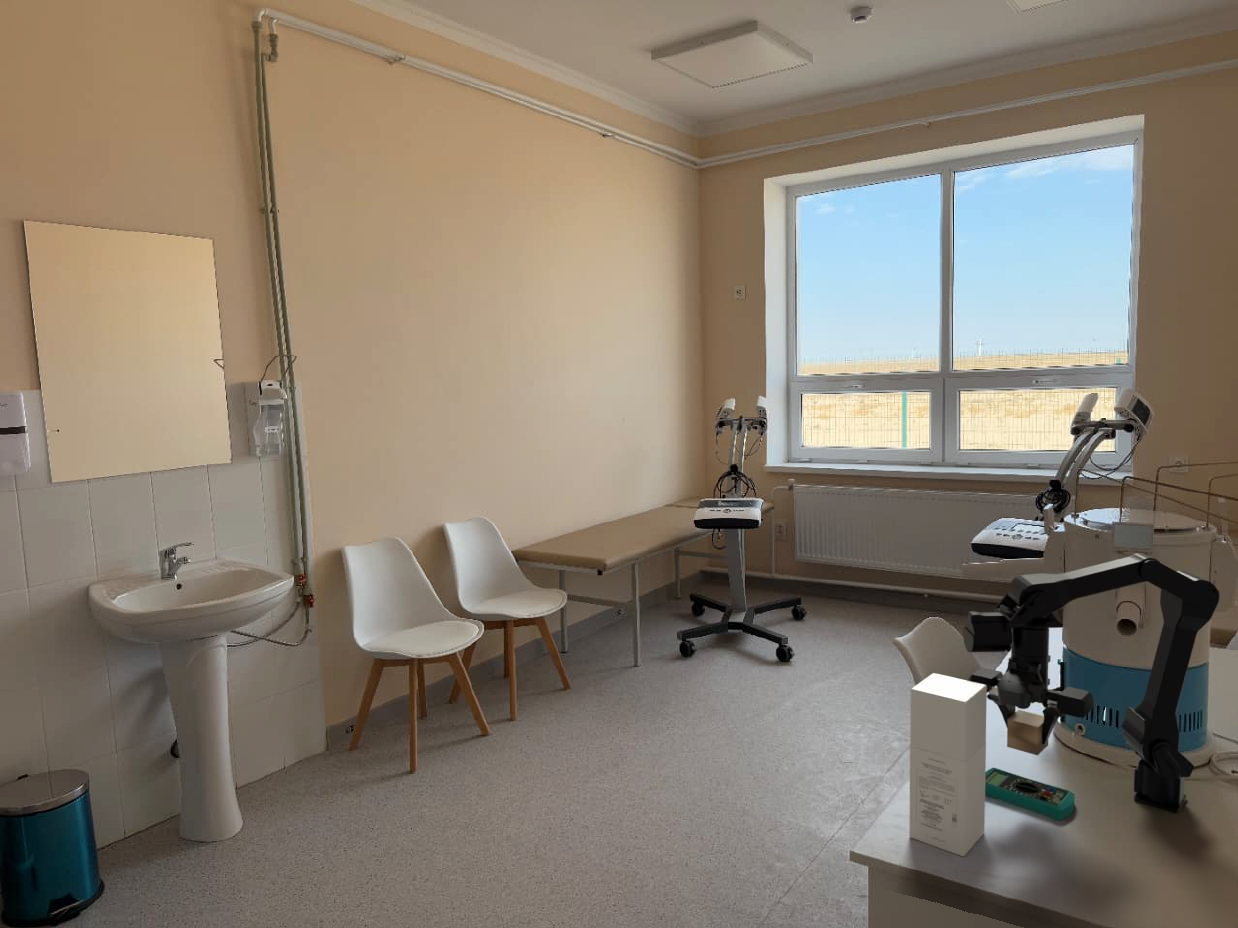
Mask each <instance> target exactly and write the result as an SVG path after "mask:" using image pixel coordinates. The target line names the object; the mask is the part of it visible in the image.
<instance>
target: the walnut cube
mask: <svg viewBox="0 0 1238 928" xmlns="http://www.w3.org/2000/svg"><path fill="white" fill-rule="evenodd" d="M1043 722H1044V715H1040V714H1036V713H1033V712H1028V711H1025V710H1022V709H1018V710H1016V711H1015V713H1014V714H1013V715H1012V716H1011V717H1009V718H1008V725H1007V727H1006V729H1007V733H1006V734H1007V735H1006V737H1007V739H1006V747H1007V748H1009V749H1013V750H1017V751H1019V752H1024V753H1027V754H1031V755H1035V756H1040V754H1041V753H1042V752H1043V751H1044V750H1045V749H1046V748H1047V747H1048V746H1049V740H1048V741H1047V743H1046V744H1042V731H1043Z"/></svg>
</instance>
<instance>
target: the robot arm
mask: <svg viewBox="0 0 1238 928" xmlns="http://www.w3.org/2000/svg"><path fill="white" fill-rule="evenodd" d="M1146 582H1148V583H1149V584H1151V585H1152V586H1155V587H1156V588H1159V589H1160V597H1159V598H1160V600H1159V604H1160V609H1161V614H1162V618H1163V619H1162V620H1163V624H1162V628H1161V632H1160V636H1159V641H1158V644H1157V647H1156V652H1155V655H1154V659H1153V663H1152V667H1151V670H1150V674H1149V678H1148V682H1147V686H1146V690H1145V693H1144V697H1143V700H1142V701H1141V703H1140V704H1139V705H1137V707H1135V708H1133V707H1130V706H1127V707H1126V708H1125V715H1124V716H1125V717H1124V720H1123V722H1122V724H1121V725H1120V728H1121V729H1122V731H1123V732H1122V733H1123V738H1124V740H1125V742H1127V745H1129V746H1130V747H1131V748H1132V749H1133V751H1134V754H1136V756H1138V757H1139V758H1140V760H1139V761H1138V764H1137V766H1136V767H1135V768H1134V773H1133V775H1134V777H1133V792H1134V793H1135V794H1134V795H1133V800H1134V801H1137V802H1140V803H1144V804H1146V805H1150V806H1154V807H1156V808H1161V809H1164V810H1167V811H1170V812H1174V813H1178V812H1179V811H1180V810H1181V808H1182V807H1183V805H1184V803H1185V802H1186V800H1187V795H1186V794H1185V779H1186V778H1190V777H1191V774H1192V773H1193V771H1194V768H1195V765H1194V764H1193V763H1192V762H1191V761H1190V760H1189V759H1187V758H1186V757H1185V755H1184V754H1182V753H1181V752H1180V750H1179V749H1180V735H1181V733H1180V728H1179V723H1178V717H1177V710H1178V707H1179V702H1180V698H1181V694H1182V691H1183V688H1184V683H1185V679H1186V676H1187V672H1188V668H1189V665H1190V661H1191V659H1192V658H1191V657H1192V653H1193V649H1194V647H1195V643H1196V639H1197V635H1198V633H1199V631H1200V630H1201V629H1202V628H1203V627H1204V626H1205V625H1207V624H1208V622H1210V620H1212V618H1213V615H1214V613H1215V611H1216V610H1217V608H1218V605H1219V602H1220V597H1221V594H1220V591H1219V589H1218V588H1217V587H1216V585H1215V584H1214V583H1212V582H1210V581H1209V580H1208V579H1205V578H1203V577H1201V576H1197V575H1196V574H1193V573H1191V572H1189V571H1186V570H1174V569H1172V568H1171V567H1169V566H1167V565H1165V564H1163V563H1161V562H1160V560H1158V559H1157V558H1154V557H1152V556H1151V555H1148V554H1147V553H1142V552H1137V553H1133V554H1130V556H1127V557H1123V558H1118V559H1114V560H1110V561H1107V562H1103V563H1099V564H1095V565H1090V566H1087V567H1083V568H1079V569H1076V570H1072V571H1071V570H1070V571H1066V572H1062V573H1032V574H1021V575H1018V576H1016V577H1014V578H1013V579H1012V580H1011V583H1010V584H1009V585H1008V589H1007V592H1006V593H1005V595H1004V596H1003V597H1002V598H1001V599H1000V600H999V602H998V603H997V604H996V605H995V607H994V608H993V609H994V611H995V612H991V611H990V612H980V611H968V612H967V618H966V619H965V621H964V625H963V626H962V636H963V644H964V647H965V649H966V651H967V652H968V653H974V654H976V653H978V654H979V653H980V654H981V653H1005V652H1006V651H1009V650H1010V657H1009V658H1008V661H1007V667H1006V669H1005V672H1004V673H1003V672H1002V671H1000V670H995V669H992V668H986V667H981V668H979V669H978V670H977V671H975V672H973V673H972V674H971V675H969V678H968V680H967V681H971V682H975V683H980V684H984V685H986V686H987V700H989V701H992V702H994V704H996V706H997V707H998V709H999V710H1000V713H1001V716H1002V718H1003V721H1004V723H1005V726H1006V728H1007V725H1008V718H1009V717H1011V716H1012V715H1013V714H1014V713H1015V712H1017V710H1016V708H1018V709H1019V710H1027V709H1029V708H1030V707H1031V704H1035V703H1038V704H1042V703H1043V702H1044V701H1047V706H1046V707H1045V708H1043V710H1042V716H1044V722H1043V731H1042V744H1046V743H1047V741H1048V742H1049V739H1050V737H1051V734H1052V733H1053V730H1054V728H1055V725H1056V723H1057V721H1058V720H1059V718H1062V717H1064V716H1065V715H1067V716H1071V717H1074V718H1079V719H1080V718H1085V717H1086V716H1087V715H1088V713H1090V712H1091V710H1093V709H1094V707H1095V706H1094V705H1095V704H1094V703H1095V697H1094V696H1093V694H1092V692H1091V691H1089V690H1084V689H1080V688H1076V687H1072V686H1067V687H1065V688H1064V689H1063V690H1062V691H1059V690H1053V689H1048V688H1049V687H1048V686H1050V685H1051V678H1049V663H1051V659H1052V658H1051V657H1052V656H1051V655H1050V653H1049V652H1050V651H1049V650H1050V629H1056V628H1057V629H1062V628H1063V627H1064V624H1063V623H1062V622H1061V621H1060V620H1059V619H1057V617H1056V616H1055V615H1054V613H1055V612H1057V611H1059V610H1062V609H1063V608H1064V607H1065V606H1067V605H1068V604H1069V603H1070V602H1073V601H1074V600H1077V599H1081V598H1085V597H1088V596H1094V595H1098V594H1101V593H1105V592H1109V591H1110V592H1111V591H1114V590H1117V589H1121V588H1124V587H1125V588H1126V587H1129V586H1130V587H1131V586H1133V585H1138V584H1141V583H1146ZM1015 608H1018V609H1017V610H1015Z"/></svg>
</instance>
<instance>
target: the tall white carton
mask: <svg viewBox="0 0 1238 928" xmlns="http://www.w3.org/2000/svg"><path fill="white" fill-rule="evenodd" d="M987 695H988V692H987V686H986V685H984V684H980V683H975V682H971V681H968V680H966V679H961V678H957V677H954V676H949V675H944V674H940V673H935V672H933V673H931V674H930V675H929V676H927V677H925V678H924V679H923V680H922V681H920V682H919V683H917V684H916V685H915V686H913V687H911V689H910V731H909V732H910V737H909V738H910V742H909V743H910V745H909V838H911V839H914V840H917V841H920V842H922V843H925V844H927V845H930V846H933V847H936V848H938V849H941V850H944V851H946V852H950V853H953V854H955V855H957V856H960V857H965V856H966V855H967V854H968V852H969V851H970V850H971V849H972V848H973V847H974V846H975V845H976V843H977V842H978V840H979V839H980V838H981V837H982V836H983V835H984V834H985V821H986V820H985V816H986V815H985V814H986V796H985V772H986V767H987V766H986V764H987V763H986V757H987V755H986V754H987V741H986V739H987V700H988V698H987Z"/></svg>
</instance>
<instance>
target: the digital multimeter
mask: <svg viewBox="0 0 1238 928" xmlns="http://www.w3.org/2000/svg"><path fill="white" fill-rule="evenodd" d="M1075 795H1076V794H1075V793H1074V792H1072V791H1071V790H1068V789H1066V788H1060V787H1057V786H1054V785H1052V784H1051V785H1050V784H1047V783H1044V782H1041V781H1037V780H1033V779H1030V778H1027V777H1024V776H1021V775H1017V774H1015V773H1012V772H1010V771H1009V772H1008V771H1006V770H1002V769H1000V768H996V767H991V768H989V769H987V770H985V797H988V798H991V799H993V800H998V801H1000V800H1001V801H1000V802H1004V803H1007V804H1010V805H1013V806H1017V807H1020V808H1021V809H1022V808H1023V809H1024V810H1025V809H1026V810H1029V811H1031V812H1033V813H1037V814H1040V815H1042V816H1046V817H1048V818H1051V819H1054V820H1057V821H1062V820H1064V819H1066V818H1067V817H1069V816H1070V815H1071V814H1072V813H1073V811H1074V808H1075V800H1076V798H1075Z"/></svg>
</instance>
